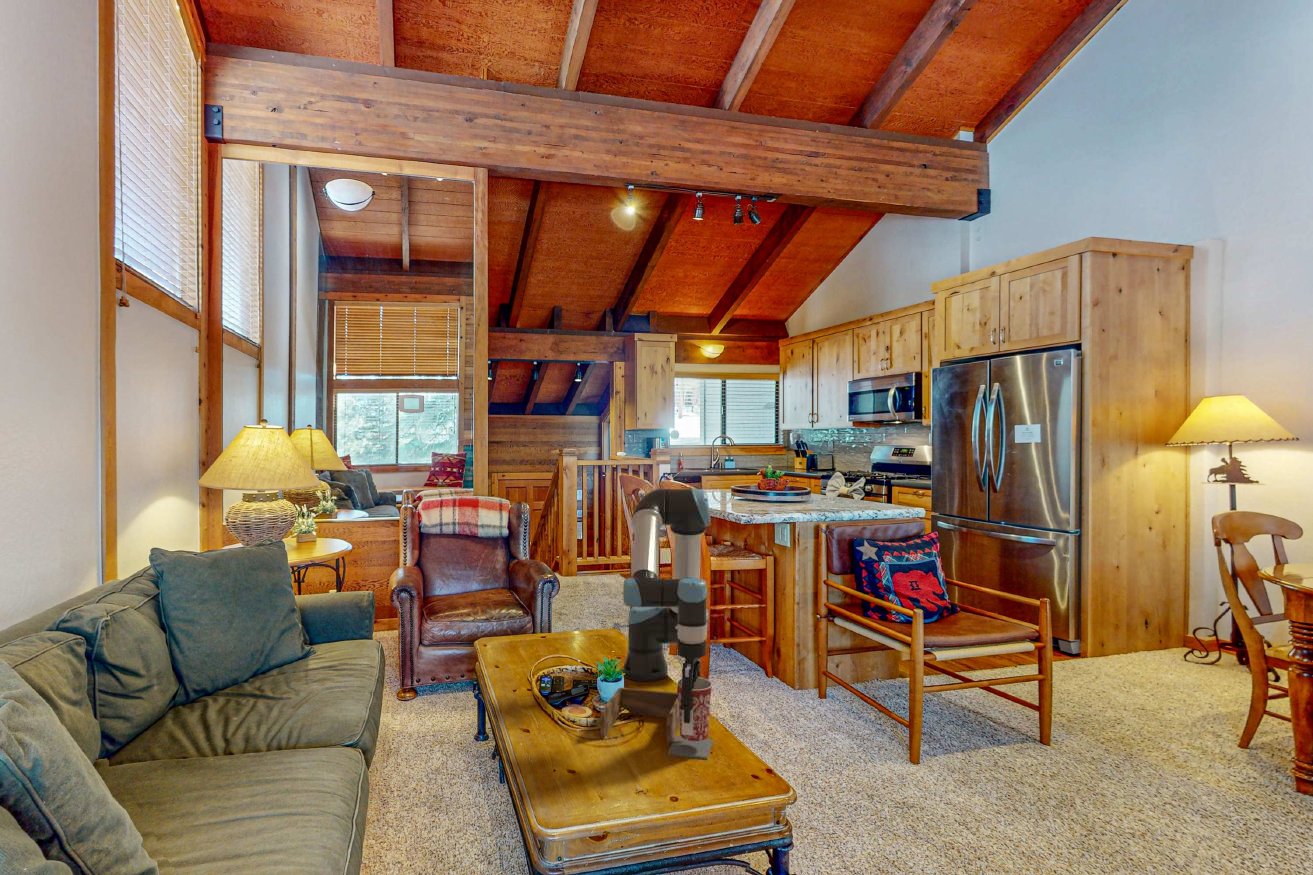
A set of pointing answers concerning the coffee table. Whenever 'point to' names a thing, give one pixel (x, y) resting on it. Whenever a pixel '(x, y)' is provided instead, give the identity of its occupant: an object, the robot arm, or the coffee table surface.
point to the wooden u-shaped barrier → (642, 708)
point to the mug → (698, 709)
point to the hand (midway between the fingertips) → (691, 725)
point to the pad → (690, 748)
